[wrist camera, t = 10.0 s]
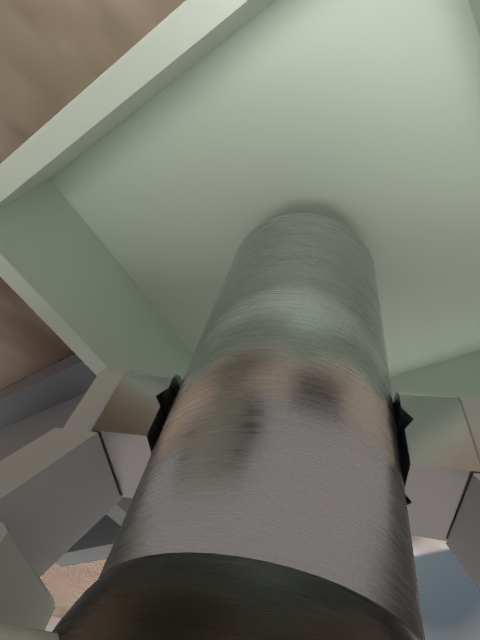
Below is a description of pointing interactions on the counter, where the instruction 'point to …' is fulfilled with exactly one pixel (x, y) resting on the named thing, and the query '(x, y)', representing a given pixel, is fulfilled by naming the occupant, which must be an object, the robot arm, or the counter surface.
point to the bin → (259, 177)
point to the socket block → (41, 417)
